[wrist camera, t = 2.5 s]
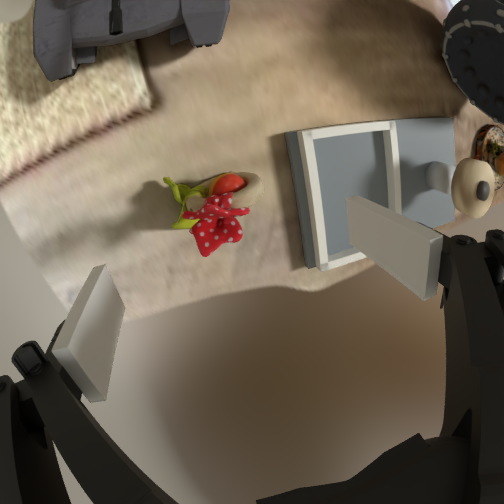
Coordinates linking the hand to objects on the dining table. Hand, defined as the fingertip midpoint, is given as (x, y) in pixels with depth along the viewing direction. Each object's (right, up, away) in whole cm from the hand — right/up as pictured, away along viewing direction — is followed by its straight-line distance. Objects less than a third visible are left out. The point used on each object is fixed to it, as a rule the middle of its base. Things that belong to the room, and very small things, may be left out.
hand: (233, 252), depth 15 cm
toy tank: (-12, +30, +4) cm, 32 cm away
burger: (+43, +17, +22) cm, 51 cm away
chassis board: (+18, +9, +19) cm, 28 cm away
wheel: (+28, +8, +14) cm, 32 cm away
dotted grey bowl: (+32, +29, +14) cm, 45 cm away
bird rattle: (-4, +7, +15) cm, 17 cm away
